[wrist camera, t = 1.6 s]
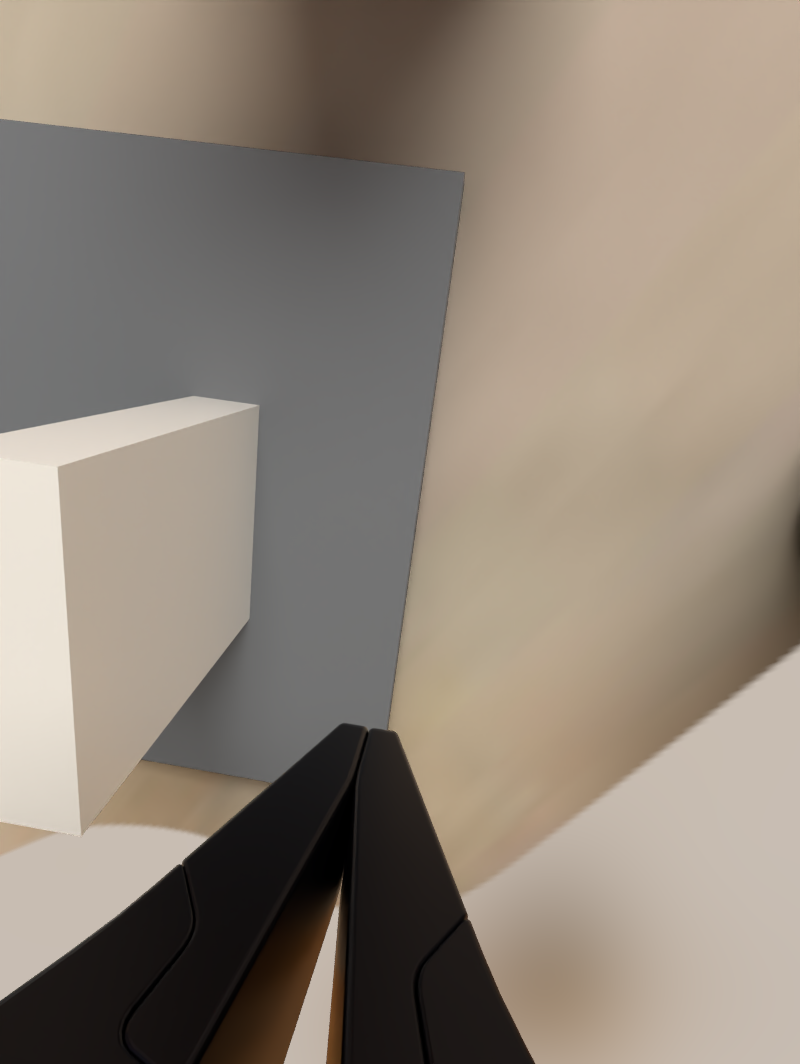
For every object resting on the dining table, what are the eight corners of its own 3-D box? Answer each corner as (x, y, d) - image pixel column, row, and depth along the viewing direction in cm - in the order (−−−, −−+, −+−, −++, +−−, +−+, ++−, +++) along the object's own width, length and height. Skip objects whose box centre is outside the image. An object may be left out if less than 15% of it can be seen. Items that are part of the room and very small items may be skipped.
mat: (464, 184, 16) (464, 172, 15) (380, 777, 22) (376, 801, 21) (-218, 105, 17) (-267, 88, 16) (-112, 691, 23) (-142, 709, 22)
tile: (259, 405, 17) (57, 466, 9) (249, 618, 19) (81, 836, 11) (185, 394, 17) (-88, 445, 9) (183, 608, 19) (-35, 815, 11)
